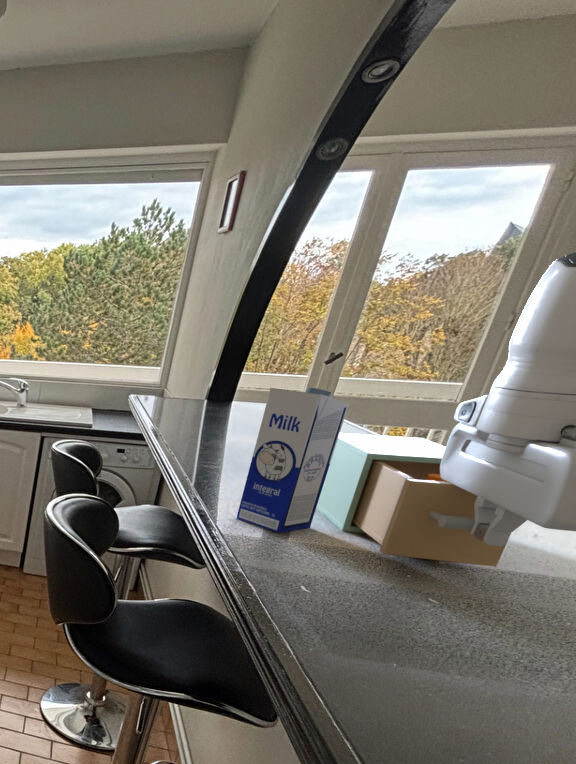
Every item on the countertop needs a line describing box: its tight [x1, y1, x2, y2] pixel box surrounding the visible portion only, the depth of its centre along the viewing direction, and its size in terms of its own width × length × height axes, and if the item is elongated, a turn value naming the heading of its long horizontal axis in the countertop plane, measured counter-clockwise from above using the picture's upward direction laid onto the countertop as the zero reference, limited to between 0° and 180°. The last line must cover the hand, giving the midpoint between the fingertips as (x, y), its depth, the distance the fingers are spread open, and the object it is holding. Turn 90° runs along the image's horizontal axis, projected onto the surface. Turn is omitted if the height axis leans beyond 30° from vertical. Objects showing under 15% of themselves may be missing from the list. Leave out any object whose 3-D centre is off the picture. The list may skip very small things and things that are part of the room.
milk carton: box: [236, 387, 350, 534], centre depth 85 cm, size 7×7×20 cm
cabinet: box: [316, 432, 446, 534], centre depth 89 cm, size 16×13×12 cm
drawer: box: [352, 459, 512, 568], centre depth 77 cm, size 19×11×10 cm, turn 160°
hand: (486, 541), depth 66 cm, fingers closed
